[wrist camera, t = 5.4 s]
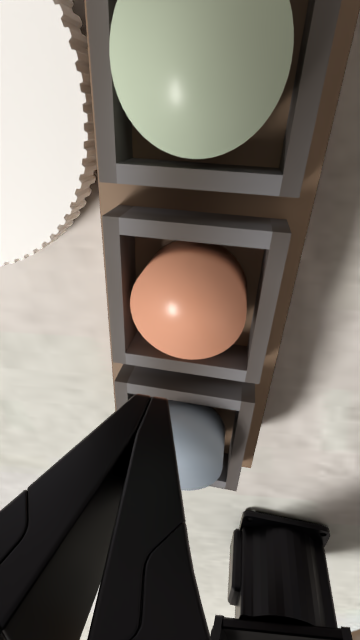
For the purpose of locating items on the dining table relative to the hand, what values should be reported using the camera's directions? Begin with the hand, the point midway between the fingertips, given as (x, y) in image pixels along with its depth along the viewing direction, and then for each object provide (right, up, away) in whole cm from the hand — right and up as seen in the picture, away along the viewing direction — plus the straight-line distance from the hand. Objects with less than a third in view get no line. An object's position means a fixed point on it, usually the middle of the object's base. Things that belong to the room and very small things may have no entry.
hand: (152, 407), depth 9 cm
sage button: (+1, +10, +1) cm, 10 cm away
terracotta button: (+1, +4, +6) cm, 7 cm away
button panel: (+2, +5, +8) cm, 10 cm away
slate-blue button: (+1, -3, +9) cm, 9 cm away
